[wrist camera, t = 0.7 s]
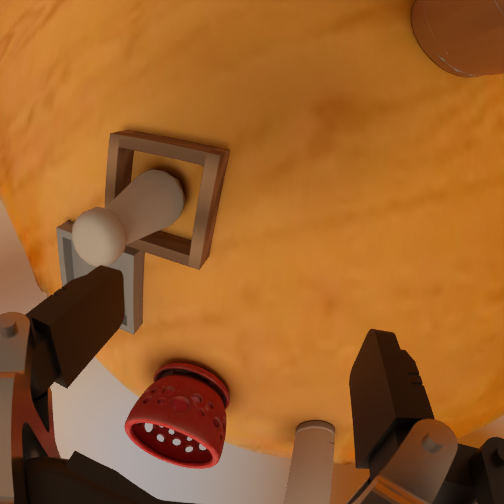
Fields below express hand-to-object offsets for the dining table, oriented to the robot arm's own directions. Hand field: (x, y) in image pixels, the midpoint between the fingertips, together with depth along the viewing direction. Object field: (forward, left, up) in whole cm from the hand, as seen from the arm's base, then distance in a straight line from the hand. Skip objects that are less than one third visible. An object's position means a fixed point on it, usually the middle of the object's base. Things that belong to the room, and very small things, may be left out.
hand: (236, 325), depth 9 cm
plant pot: (+33, -5, -21) cm, 39 cm away
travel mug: (+36, +15, -21) cm, 44 cm away
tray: (+18, -20, -21) cm, 34 cm away
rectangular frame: (+5, -12, -21) cm, 25 cm away
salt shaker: (+5, -12, -21) cm, 25 cm away
